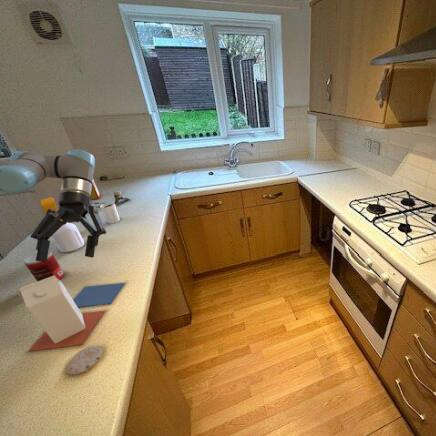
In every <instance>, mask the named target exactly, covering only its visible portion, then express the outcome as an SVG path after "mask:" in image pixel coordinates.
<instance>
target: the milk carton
mask: <svg viewBox="0 0 436 436" xmlns="http://www.w3.org/2000/svg"><path fill="white" fill-rule="evenodd" d="M18 290H19V292H20V295H21V297H22V299H23V302H24V304H25V307H26V308H27V309H28V311H29V313H31V315H32V316H33V317H34V319H35V320H36V321H37V322H38V324H39V325H40V327H41V328H42V329H43V330H44V332H45V331H46V333H47V334H48V335H49V336H50V338H51V339H52V340H53V342H54V343H55V344H56V343H58V342H60V341H62V340H64V339H66V338H68V337H70V336H72V335H74V334H76V333H78V332H80V331H82V330H84V329H85V324H84V320H83V316H82V314H81V313H82V312H81V310H80V309H79V308H78V307H77V306H76V304H75V302H74V301H73V300H74V298H73V297H72V296H71V294H70V293H69V292H68V289H67V288H66V286H65V285H64V284H63V282H62V279H61V280H59V279H57V278H56V277H55V275H54V276H51V277H49V278H46V279H43V280H41V281H38V282H37V281H36V282H33V283H30V284H27V285H25V286H21V287H20V288H19V287H18Z"/></svg>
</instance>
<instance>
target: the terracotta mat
mask: <svg viewBox="0 0 436 436" xmlns="http://www.w3.org/2000/svg"><path fill="white" fill-rule="evenodd" d="M105 313H106V310H97V311H88V312H81V314H82V316H83V320H84V324H85V329H84V330H82V331H80V332H78V333H76V334H74V335H72V336H70V337H68V338H66V339H64V340H62V341H60V342H58V343H56V344H55V343H54V342H53V340H52V339H51V338H50V336H49V335H48V334H47V333H46V331H45V330H44V332H43V333H42V334H41V336H40V337H39V338H38V339H37V340H36V341H35V342H34V344H33V345H32V346H31V347H30V348H29V349H28V352H37V351H45V350H53V349H62V348H69V347H78V346H83V345H84V343H85V342H86V341H87V339H88V338H89V336H90V335H91V333H92V332H93V330H94V329H95V328H96V326H97V325H98V324H99V322H100V321H101V320H102V318H103V316H104V315H105Z"/></svg>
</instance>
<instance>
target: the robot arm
mask: <svg viewBox="0 0 436 436" xmlns="http://www.w3.org/2000/svg"><path fill="white" fill-rule="evenodd" d="M95 166H96V157H94V155H93V154H92V153H90V152H88V151H85V150H81V149H70V150H68V151H67V153H66V155H58V154H50V153H42V152H34V151H29V150H28V151H22V150H20V151H19V150H17V151H14V152H12V154H11V155H10V158H9V160H5V159H0V192H2V193H4V194H9V195H10V194H11V195H17V194H21V193H22V194H23V193H24V192H26V191H29V190H31V189H32V188H34V187H35V186H37V184H39V183H41V182H42V181H44V180H46V179H47V178H52V179H62V181H61V184H60V185H61V186H60V193H59V197H58V201H57V202H58V206H59V207H58V208H57V209H58V210H52V209H48V210H47V212H46V213H45V215H44V217H43V218H42V220H41V221H40V222H39V223H38V225H37V226H36V227H35V229H34V230H33V232H32V233H31V234H30V239H35V240H37V241H36V247H35V250H36V253H37V256H36V261H42V262H47V256H48V251H50V246H51V245H50V244H51V240H49V239H50V238H52V235H53V234H54V233H55V232H56V231H57V230H58V229H59V228H60V227H62V226H63V225H65V224H66V223H81V225H82V226H83V227H84V228H85V229H86V231H88V233H89V234H88V235H87V237H86V243H85V244H86V245H85V253H84V257H86V258H94V257H95V251H96V247H98V245H99V239H100V236H101V235H106V234H107V230H106V228H105V225H104V224H103V221H102V219H101V216H100V215H99V208H97V207H95V206H93V205H92V206H90V207H89V204H90V197H89V196H90V195H91V188H92V181H93V179H94V174H95V170H96V167H95ZM88 207H89V208H88ZM87 215H89V216H90V218H91V220H92V223H93V224H92V223H91V222H90V220H89V219H88V217H87ZM60 219H62V220H63V221H62V220H60Z"/></svg>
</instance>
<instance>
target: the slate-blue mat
mask: <svg viewBox="0 0 436 436" xmlns="http://www.w3.org/2000/svg"><path fill="white" fill-rule="evenodd" d="M125 284H126V283H125V282H119V283H108V284H100V285H90V286H84V287H83V288H82V289H81V290H80V291H79V292H78V294H77V295H76V296H75V297H74V298H73V301H74V302H75V304H76V306H77V307H78V309H79V308H88V307H97V306H106V305H112V303H113V302H114V300H115V299H116V297H117V296H118V295H119V293H120V291H121V290H122V288H124V286H125Z"/></svg>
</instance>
